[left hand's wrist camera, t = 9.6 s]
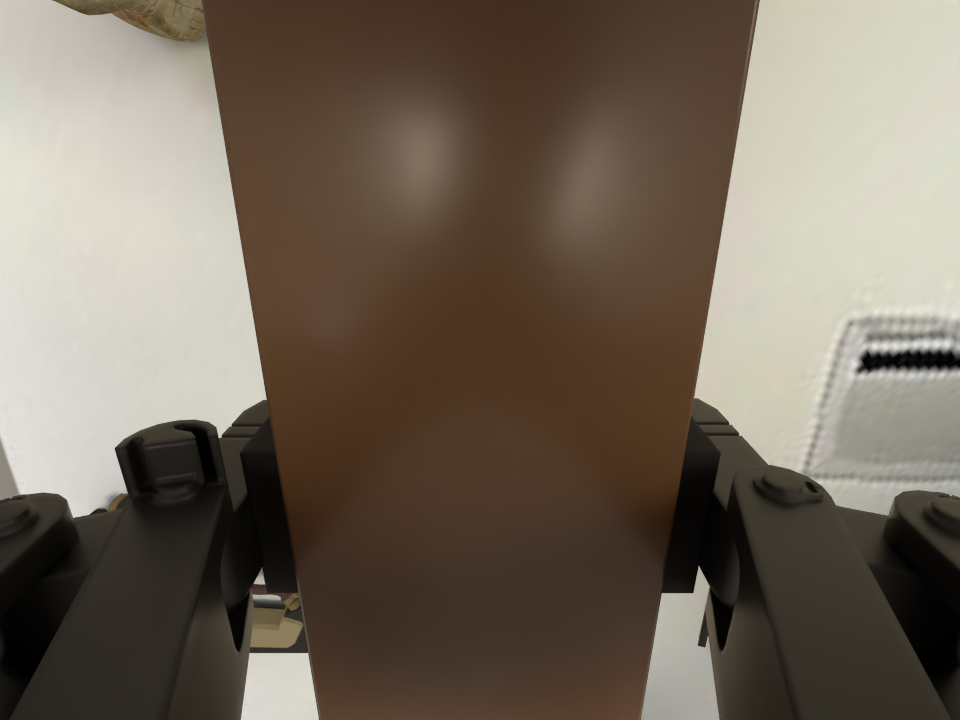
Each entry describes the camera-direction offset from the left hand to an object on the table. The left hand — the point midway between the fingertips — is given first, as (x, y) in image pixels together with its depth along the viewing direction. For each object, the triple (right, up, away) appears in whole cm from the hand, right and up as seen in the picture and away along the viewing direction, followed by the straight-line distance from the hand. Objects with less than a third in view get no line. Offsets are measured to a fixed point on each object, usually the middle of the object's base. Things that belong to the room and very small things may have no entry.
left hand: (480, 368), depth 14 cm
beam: (0, -18, +8) cm, 20 cm away
